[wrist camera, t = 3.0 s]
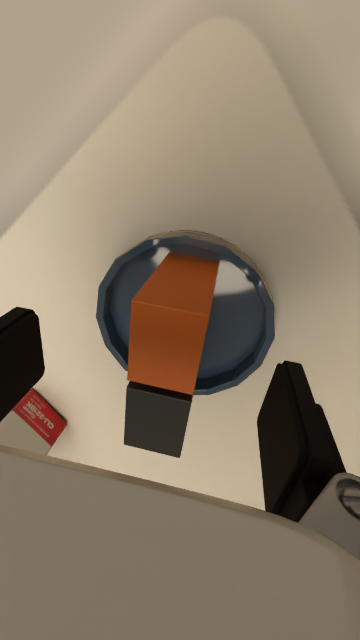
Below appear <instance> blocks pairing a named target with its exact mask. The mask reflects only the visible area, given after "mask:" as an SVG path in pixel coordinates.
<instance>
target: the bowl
mask: <svg viewBox="0 0 360 640" xmlns="http://www.w3.org/2000/svg"><path fill="white" fill-rule="evenodd" d="M169 252H173V253H179V254H185V255H190V256H196V257H201V258H207V259H212V260H218V261H219V268H218V273H217V278H216V284H215V289H214V295H213V300H212V305H211V311H210V316H209V321H208V326H207V331H206V336H205V340H204V345H203V350H202V355H201V360H200V365H199V369H198V374H197V379H196V384H195V389H194V394H193V395H210V394H213V393H216V392H219V391H222V390H225V389H228V388H231V387H234V386H237V385H239V384H240V383H241V382H242V381H243V380H245V379H246V378H247V377H248V376H249V375H251V374H252V373H253V372H254V371H255V370H257V369H258V368H259V367H260V366H261V365H262V363H263V361H264V359H265V357H266V355H267V352H268V350H269V348H270V346H271V344H272V342H273V340H274V337H275V329H274V303H273V299H272V295H271V293H270V291H269V289H268V287H267V285H266V283H265V280H264V278H263V276H262V274H261V273H260V271H259V269H258V268H257V266H256V265H255V264H254V263H253V262H252V260H251V259H250V258H249V257H248V256H247V255H246V254H244V253H243V252H242V251H241V250H240V249H238V248H237V247H236V246H234V245H233V244H231V243H229V242H227V241H225V240H223V239H222V238H219V237H217V236H214V235H211V234H208V233H203V232H198V231H189V230H178V231H169V232H164V233H160V234H157V235H152V236H150V237H148V238H146V239H145V240H143V241H141V242H139V243H138V244H137V245H135V246H134V247H132V248H131V249H129V250H127V251H126V252H124V253H123V254H122V255H120V256H119V257H118V258H116V259H115V261H114V262H113V264H112V266H111V267H110V269H109V271H108V272H107V274H106V276H105V277H104V279H103V281H102V282H101V284H100V286H99V291H98V302H97V313H96V319H97V322H98V325H99V328H100V331H101V334H102V337H103V340H104V343H105V345H106V347H107V348H108V349H109V351H110V352H111V353H112V355H113V356H114V357H115V358H116V360H117V361H118V362H119V363H120V365H121V366H122V367H123V368H124V369H125V370H126V371H128V356H129V337H130V317H131V300H132V299H133V298H134V296H135V295H136V294H137V293H138V291H139V290H140V289H141V288H142V286H143V285H144V284H145V282H146V281H147V280H148V279H149V277H150V276H151V275H152V274H153V272H154V271H155V270H156V268H157V267H158V266H159V265H160V263H161V262H162V261H163V260H164V258H165V257H166V256H167V254H168V253H169Z"/></svg>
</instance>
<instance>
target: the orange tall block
mask: <svg viewBox="0 0 360 640" xmlns="http://www.w3.org/2000/svg"><path fill="white" fill-rule="evenodd" d="M218 268H219V261H218V260H212V259H207V258H201V257H196V256H190V255H185V254H179V253H173V252H169V253H168V254H167V256H166V257H165V258H164V260H163V261H162V262H161V263H160V265H159V266H158V267H157V268H156V270H155V271H154V272H153V274H152V275H151V276H150V277H149V279H148V280H147V281H146V282H145V284H144V285H143V286H142V288H141V289H140V290H139V291H138V293H137V294H136V295H135V296H134V298H133V299H132V300H131V317H130V337H129V356H128V376H127V380H129V381H133V382H138V383H142V384H147V385H151V386H156V387H160V388H164V389H169V390H173V391H178V392H182V393H187V394H191V395H193V394H194V389H195V384H196V379H197V374H198V369H199V365H200V360H201V355H202V350H203V345H204V340H205V336H206V331H207V326H208V321H209V316H210V311H211V305H212V300H213V295H214V289H215V284H216V278H217V273H218Z"/></svg>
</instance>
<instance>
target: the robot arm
mask: <svg viewBox="0 0 360 640" xmlns="http://www.w3.org/2000/svg"><path fill="white" fill-rule="evenodd" d="M44 370H45V366H44V358H43V350H42V342H41V334H40V326H39V318H38V316H37V315H36V314H35V312H34V311H33V310H31V309H26V308H21V307H16V308H14V309H12V310H11V311H9V312H8V313H6V314H5V315H3V316H1V317H0V422H1V421H2V420H3V419H4V418H5V417H6V416H7V415H8V413H9V412H10V411H11V410H12V409H13V408H14V407H15V406H16V405H17V404H18V403H19V401H20V400H21V399H22V398H23V397H24V396H25V395H26V394H27V393H28V392H29V391H30V389H31V388H32V387H33V386H34V385H35V384H36V383H37V382H38V381H39V380H40V378H41V377H42V376H43V374H44ZM257 427H258V438H259V448H260V458H261V469H262V479H263V489H264V500H265V510H266V511H263V510H260V509H257V508H254V507H250V506H246V505H243V504H239V503H235V502H231V501H228V500H224V499H220V498H216V497H213V496H209V495H205V494H201V493H197V492H193V491H189V490H185V489H181V488H177V487H173V486H169V485H165V484H161V483H157V482H153V481H149V480H145V479H141V478H137V477H133V476H129V475H125V474H121V473H117V472H113V471H108V470H104V469H100V468H96V467H92V466H88V465H84V464H80V463H76V462H71V461H67V460H63V459H59V458H55V457H51V456H47V455H42V454H38V453H34V452H30V451H26V450H21V449H17V448H13V447H9V446H5V445H0V640H360V477H358V476H356V475H353V474H350V473H346V470H345V467H344V465H343V462H342V459H341V457H340V454H339V451H338V449H337V446H336V443H335V441H334V438H333V435H332V433H331V430H330V427H329V425H328V422H327V419H326V417H325V414H324V411H323V409H322V407H321V406H320V405H319V404H316V403H315V401H314V398H313V395H312V392H311V389H310V387H309V384H308V381H307V378H306V375H305V372H304V370H303V367H302V365H301V364H300V363H295V362H290V361H284V362H283V364H280V363H278V364H277V366H276V369H275V372H274V374H273V377H272V380H271V382H270V385H269V388H268V390H267V393H266V396H265V399H264V401H263V404H262V407H261V409H260V412H259V415H258V420H257Z"/></svg>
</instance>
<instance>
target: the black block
mask: <svg viewBox="0 0 360 640" xmlns="http://www.w3.org/2000/svg"><path fill="white" fill-rule="evenodd" d="M192 397H193V395H191V394H187V393H182V392H178V391H173V390H169V389H164V388H160V387H156V386H151V385H147V384H142V383H138V382H133V381H130V382H129V384H128V386H127V391H126V411H125V431H124V444H125V445H129V446H133V447H137V448H141V449H145V450H149V451H153V452H157V453H161V454H165V455H169V456H173V457H178V458H180V455H181V451H182V446H183V441H184V436H185V431H186V426H187V421H188V417H189V412H190V407H191V402H192Z"/></svg>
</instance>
